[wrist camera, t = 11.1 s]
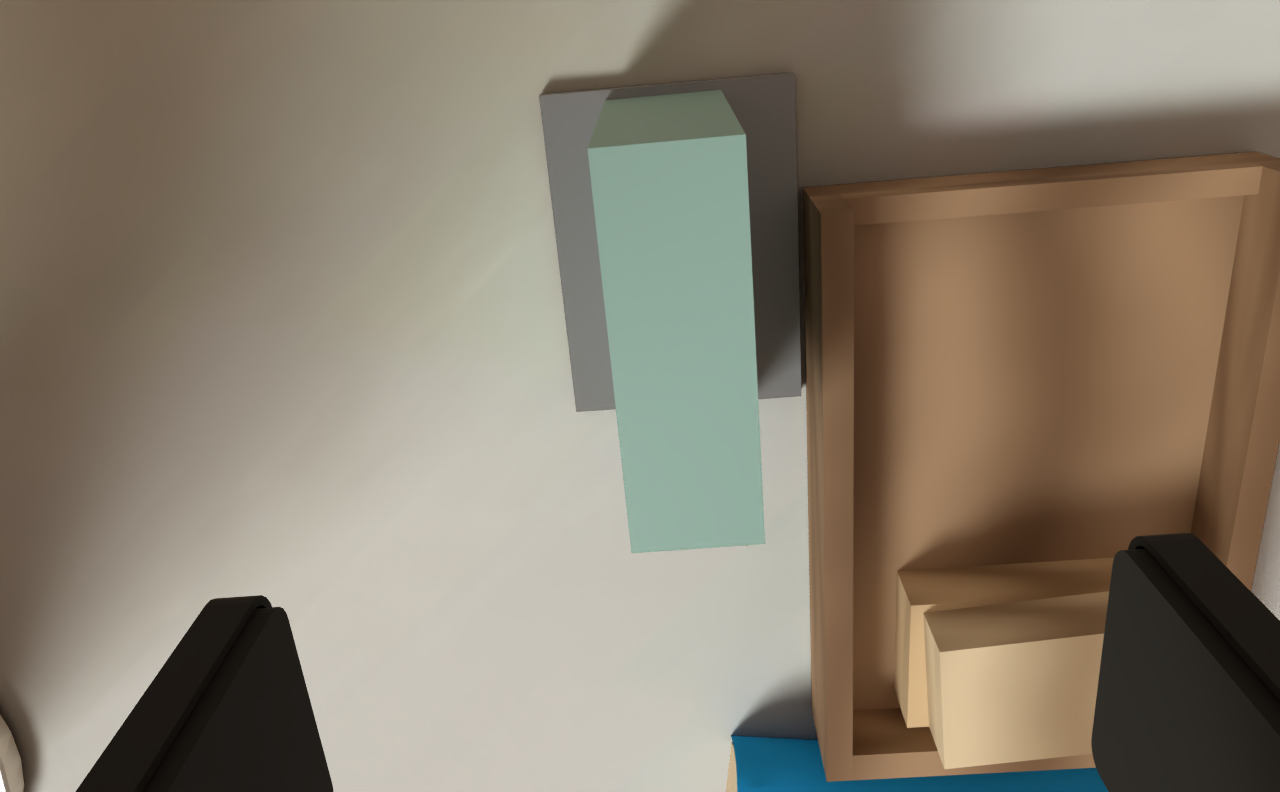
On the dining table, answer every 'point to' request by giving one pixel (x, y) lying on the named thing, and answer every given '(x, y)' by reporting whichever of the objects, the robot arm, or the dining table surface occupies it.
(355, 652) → the dining table surface
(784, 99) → the felt pad
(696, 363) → the block
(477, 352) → the dining table surface
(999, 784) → the book
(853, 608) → the tray
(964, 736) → the offcut top
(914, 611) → the offcut low
